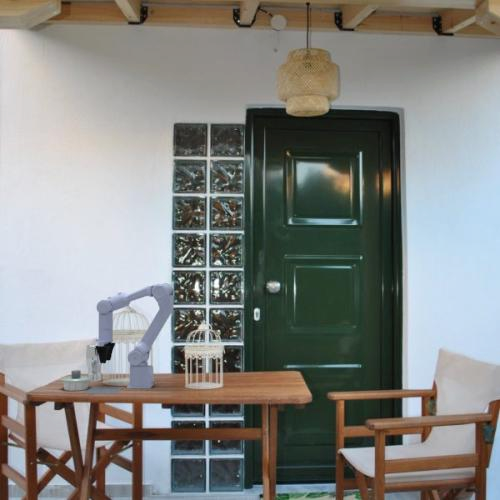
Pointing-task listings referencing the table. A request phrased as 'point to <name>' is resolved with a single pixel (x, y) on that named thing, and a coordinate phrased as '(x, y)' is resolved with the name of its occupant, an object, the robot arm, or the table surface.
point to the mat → (103, 390)
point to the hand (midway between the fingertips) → (105, 361)
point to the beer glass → (93, 363)
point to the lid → (75, 377)
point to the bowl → (75, 386)
